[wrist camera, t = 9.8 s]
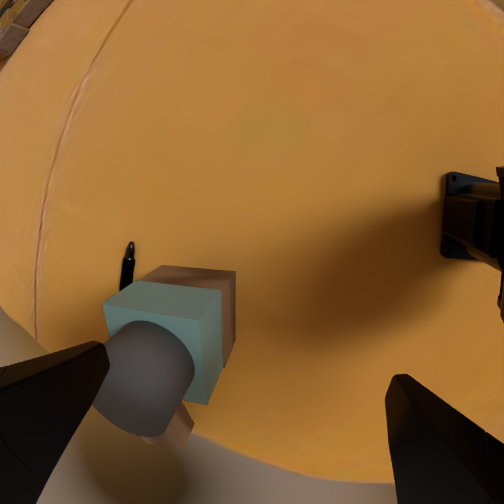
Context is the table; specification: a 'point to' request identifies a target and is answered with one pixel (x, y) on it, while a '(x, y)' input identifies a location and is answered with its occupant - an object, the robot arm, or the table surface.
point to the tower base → (211, 281)
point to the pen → (127, 267)
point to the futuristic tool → (17, 22)
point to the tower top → (176, 324)
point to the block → (175, 430)
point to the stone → (144, 378)
